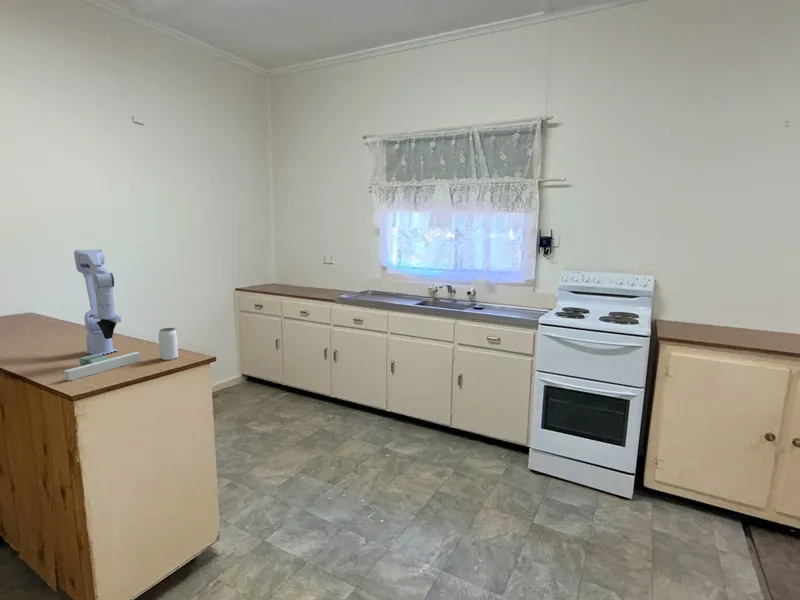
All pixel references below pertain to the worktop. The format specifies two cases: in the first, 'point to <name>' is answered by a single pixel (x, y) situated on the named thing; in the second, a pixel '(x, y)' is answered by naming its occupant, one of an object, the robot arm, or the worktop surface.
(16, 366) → the worktop surface
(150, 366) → the worktop surface
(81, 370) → the board
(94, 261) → the robot arm
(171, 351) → the can
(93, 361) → the block
